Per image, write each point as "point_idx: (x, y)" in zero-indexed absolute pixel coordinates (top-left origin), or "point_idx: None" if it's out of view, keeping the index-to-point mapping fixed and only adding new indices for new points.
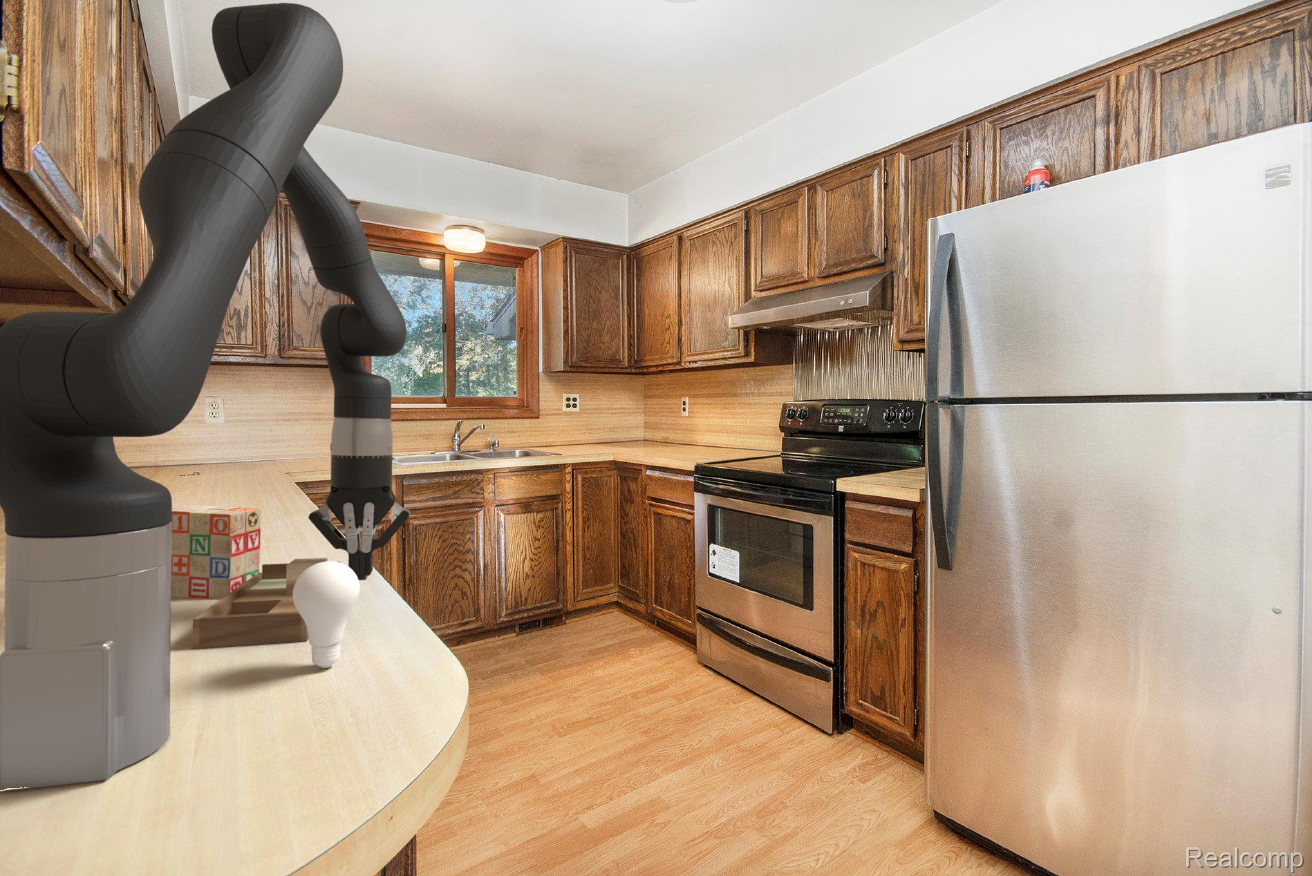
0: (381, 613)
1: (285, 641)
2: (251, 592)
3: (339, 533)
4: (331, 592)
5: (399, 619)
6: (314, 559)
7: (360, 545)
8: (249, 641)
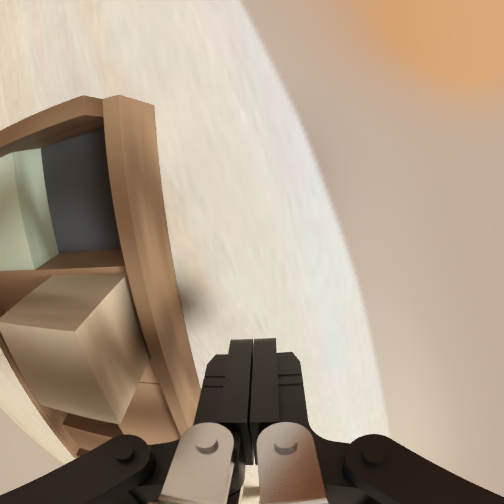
0: (321, 347)
1: None
2: (3, 299)
3: (110, 499)
4: None
5: (360, 382)
6: (51, 353)
7: (234, 444)
8: None
